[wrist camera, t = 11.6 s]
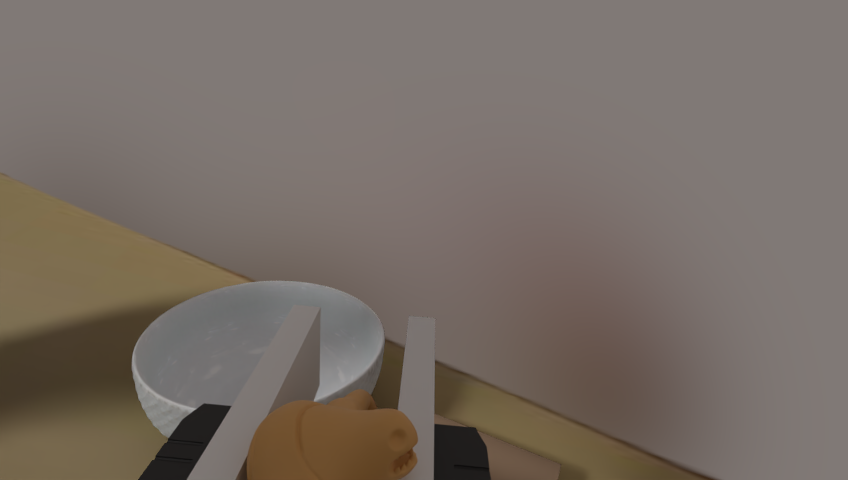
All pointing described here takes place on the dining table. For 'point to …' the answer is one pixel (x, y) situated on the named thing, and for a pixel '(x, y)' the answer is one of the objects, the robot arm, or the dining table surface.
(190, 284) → the dining table surface
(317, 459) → the figurine
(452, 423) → the walnut plinth
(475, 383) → the dining table surface
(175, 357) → the cereal bowl
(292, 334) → the robot arm
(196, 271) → the dining table surface
